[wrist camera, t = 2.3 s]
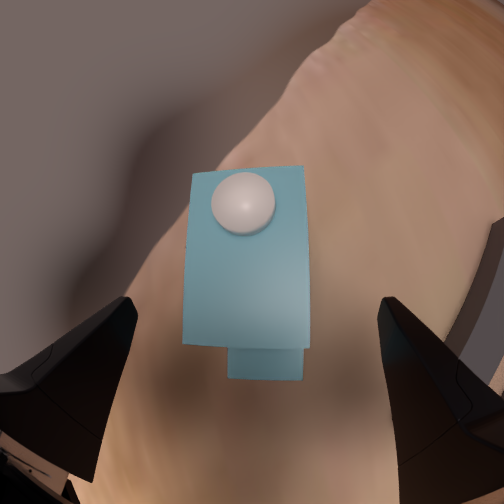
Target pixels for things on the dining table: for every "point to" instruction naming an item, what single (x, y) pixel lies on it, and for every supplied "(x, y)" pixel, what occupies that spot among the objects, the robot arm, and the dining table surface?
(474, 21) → the dining table surface
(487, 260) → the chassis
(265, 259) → the servo
